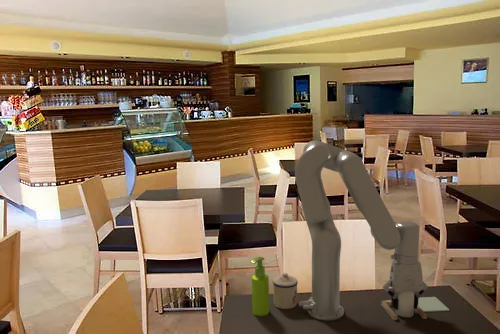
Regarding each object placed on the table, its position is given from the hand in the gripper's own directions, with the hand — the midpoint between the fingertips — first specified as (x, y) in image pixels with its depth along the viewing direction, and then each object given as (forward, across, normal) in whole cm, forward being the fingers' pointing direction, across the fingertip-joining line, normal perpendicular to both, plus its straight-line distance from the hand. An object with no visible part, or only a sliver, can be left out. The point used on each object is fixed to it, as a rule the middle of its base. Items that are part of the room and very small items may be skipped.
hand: (404, 307), depth 143 cm
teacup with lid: (+2, -40, +12) cm, 42 cm away
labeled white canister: (+2, 0, 0) cm, 2 cm away
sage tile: (+2, +11, +5) cm, 12 cm away
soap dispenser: (+2, -50, +5) cm, 50 cm away
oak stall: (+2, 0, +1) cm, 2 cm away
